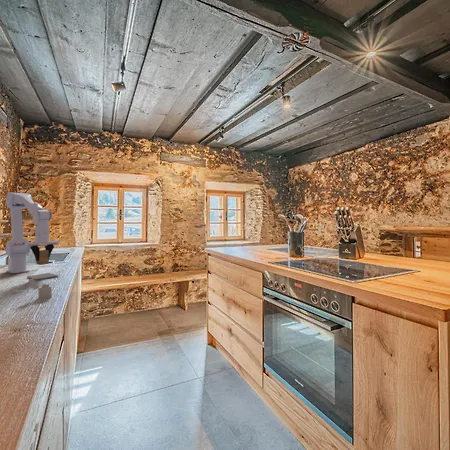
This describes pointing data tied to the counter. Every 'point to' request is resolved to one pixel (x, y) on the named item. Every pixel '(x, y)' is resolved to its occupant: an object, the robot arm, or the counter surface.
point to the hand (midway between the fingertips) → (42, 260)
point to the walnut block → (43, 257)
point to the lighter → (42, 289)
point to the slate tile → (42, 276)
